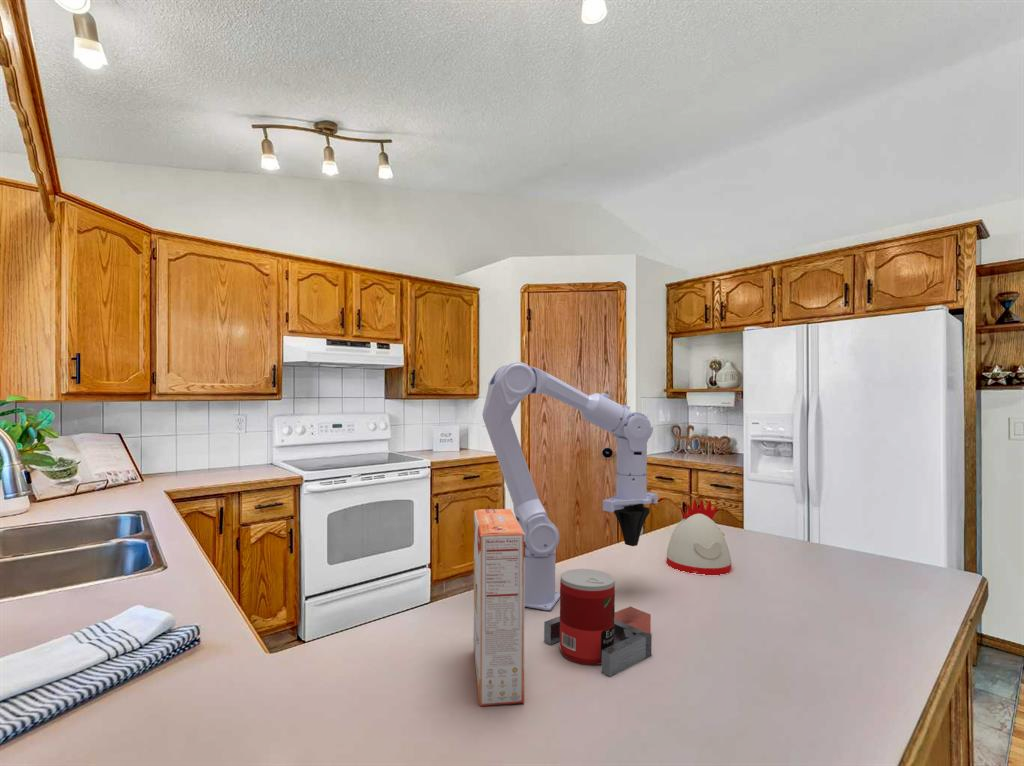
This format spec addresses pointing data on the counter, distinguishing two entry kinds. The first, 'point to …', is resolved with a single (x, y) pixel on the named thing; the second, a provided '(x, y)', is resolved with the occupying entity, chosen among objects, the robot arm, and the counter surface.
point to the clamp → (617, 639)
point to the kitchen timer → (699, 543)
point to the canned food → (586, 614)
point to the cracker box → (499, 606)
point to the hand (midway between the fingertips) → (631, 544)
